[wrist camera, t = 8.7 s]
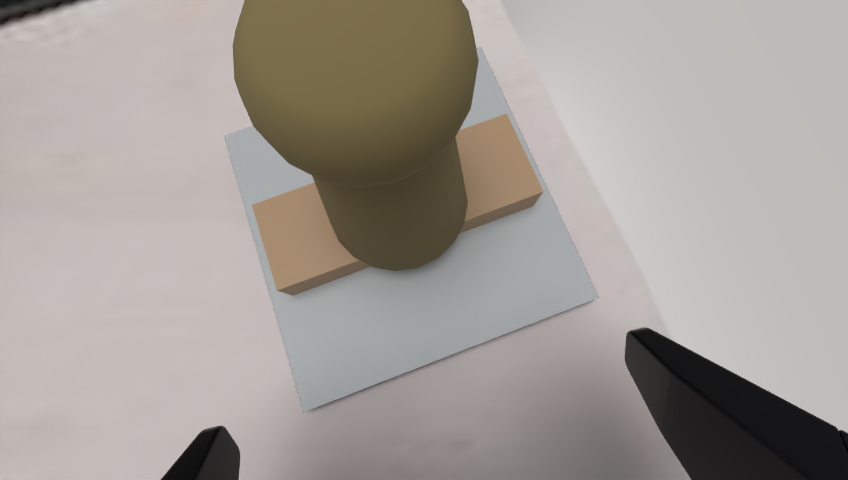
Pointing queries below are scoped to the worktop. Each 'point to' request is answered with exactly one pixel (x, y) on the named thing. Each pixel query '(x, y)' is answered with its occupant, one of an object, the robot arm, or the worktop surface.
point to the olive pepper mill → (366, 113)
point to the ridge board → (419, 287)
